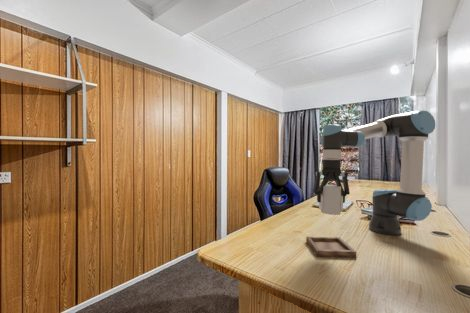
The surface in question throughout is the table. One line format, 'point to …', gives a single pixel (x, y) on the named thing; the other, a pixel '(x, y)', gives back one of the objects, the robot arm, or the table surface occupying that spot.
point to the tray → (330, 247)
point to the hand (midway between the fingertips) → (330, 209)
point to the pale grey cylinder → (331, 199)
